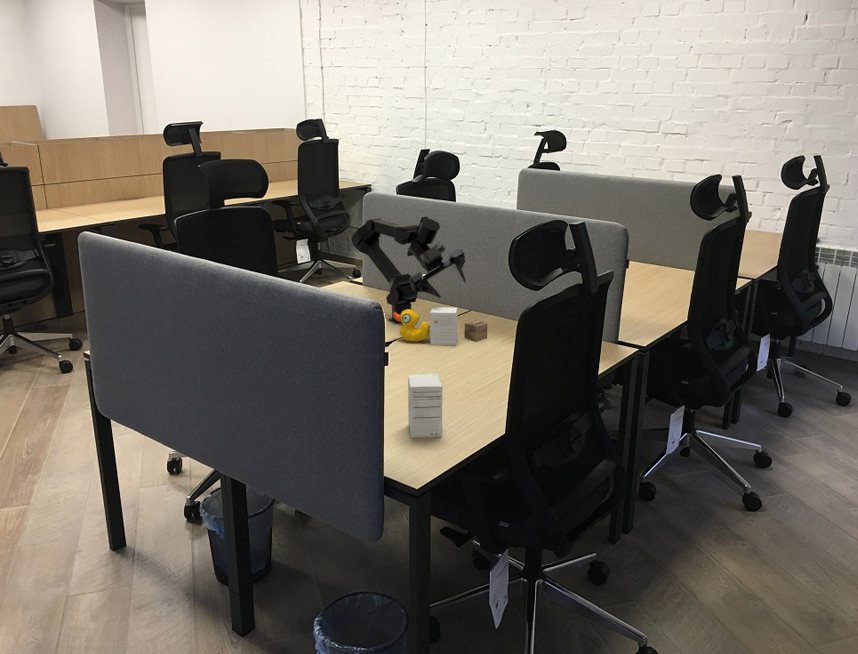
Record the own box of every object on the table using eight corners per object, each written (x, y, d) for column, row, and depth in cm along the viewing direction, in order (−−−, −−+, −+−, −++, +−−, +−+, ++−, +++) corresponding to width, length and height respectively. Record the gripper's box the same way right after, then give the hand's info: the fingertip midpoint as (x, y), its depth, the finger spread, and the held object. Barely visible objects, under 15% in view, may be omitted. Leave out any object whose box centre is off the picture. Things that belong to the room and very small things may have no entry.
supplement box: (407, 424, 175) (407, 374, 171) (439, 423, 176) (439, 373, 172) (409, 438, 168) (409, 386, 164) (442, 437, 169) (443, 385, 165)
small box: (457, 339, 232) (457, 307, 228) (456, 345, 226) (456, 312, 223) (431, 338, 232) (431, 306, 229) (430, 345, 227) (430, 311, 224)
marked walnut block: (463, 338, 233) (464, 321, 232) (474, 334, 237) (475, 318, 235) (476, 342, 230) (476, 325, 228) (487, 338, 233) (487, 322, 232)
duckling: (391, 342, 230) (390, 310, 226) (396, 336, 234) (396, 306, 231) (426, 345, 227) (426, 313, 224) (431, 339, 232) (431, 308, 228)
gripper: (396, 255, 224) (424, 291, 217) (447, 224, 228) (476, 259, 221) (401, 275, 234) (428, 310, 227) (450, 245, 237) (478, 279, 230)
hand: (452, 289), depth 226 cm, fingers open, 9 cm apart
